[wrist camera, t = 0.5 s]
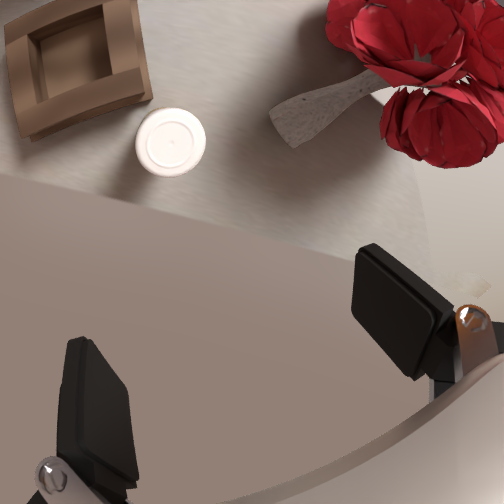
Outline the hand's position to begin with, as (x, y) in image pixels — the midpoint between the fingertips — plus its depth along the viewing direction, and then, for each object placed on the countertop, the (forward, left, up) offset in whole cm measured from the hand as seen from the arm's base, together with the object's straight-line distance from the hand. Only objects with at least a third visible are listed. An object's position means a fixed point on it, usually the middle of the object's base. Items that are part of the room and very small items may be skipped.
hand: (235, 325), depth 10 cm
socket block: (-14, -7, -25) cm, 30 cm away
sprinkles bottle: (-4, 0, -26) cm, 26 cm away
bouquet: (-9, +24, -26) cm, 36 cm away
